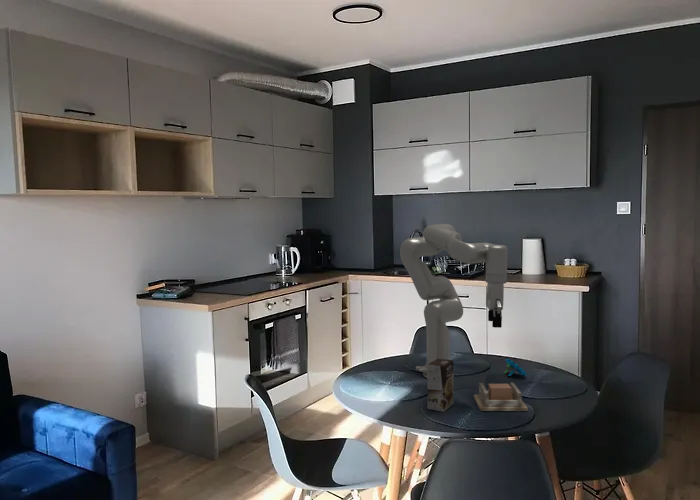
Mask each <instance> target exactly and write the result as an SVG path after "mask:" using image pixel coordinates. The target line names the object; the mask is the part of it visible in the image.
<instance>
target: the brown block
mask: <svg viewBox="0 0 700 500" xmlns="http://www.w3.org/2000/svg"><path fill="white" fill-rule="evenodd" d="M487 384H488V385H487V386H488V389H487V390H488V393H489V400H511V387H510V383H487Z"/></svg>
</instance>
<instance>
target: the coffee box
mask: <svg viewBox="0 0 700 500" xmlns="http://www.w3.org/2000/svg"><path fill="white" fill-rule="evenodd" d="M453 373H454V360H452V359H450V360H447V359H436V360H434V361H432V362H431V363H429V364H428V378H427V409H428V410H432V411H433V410H434V411H438V412H442V413H443V412H445V411H447V410H448V409H449V408H450V407H452V406H453V405H454V377H453ZM451 405H452V406H451Z"/></svg>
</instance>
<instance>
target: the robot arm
mask: <svg viewBox="0 0 700 500" xmlns="http://www.w3.org/2000/svg"><path fill="white" fill-rule="evenodd" d="M399 249H400V250H399V252H400V253H399V255H400V259H401V262H402V264H403V266H404V268H405V269H406V271H407V272H408V274H409V276H410V279H411V280H412V281H411V282H412V283H413V286H414V287H415V289H416V292H417V294H418V296H419V297H420V299H421V300H423V301H430V302H429V303H427V304H426V305H425V306H424V309H423V317H424V322H425V328H426V329H425V330H426V331H425V332H426V362H425V364H424V365H415V371H416V372H421V373H422V376H423V377H424V378H426V379H428V364H429V363H431V362H432V361H434V360H436V359H447V360H451V349H450V348H451V344H450V343H451V338H450V337H451V335H450V331H449V328H448V326H447V324H446V323H451V322H456V321H459V320H460V319H462V317H463V315H464V306H463V303H462V302H461V299H460V296H459V295H458V293H457V291H456V289H455V287H454V284H453V283H452V281H451V280H450V279H449V278H448V277H446V276H443V275H439V276H434V275H433V274H432V272H431V270H430V268H429V267H428V265H427V264H426V263H425V262H424V261H423V260H422V259H421V258H423V257H433V256H436V255H437V254H440V253H441V252H442V251H445V252H447V253H448V255H449V256H450V257H451V258H452V259H453V260H455V261H459V262H461V263H464V264H470V265H471V264H481V263H485V283H486V285H487V286H486V297H485V306H486V307H487V311H488V312H487V313H488V314H487V321H488V322H492V323H491V324H492V328H496V329H497V328H502V326H503V325H502V322H503V315H502V310H504V298H505V297H504V296H505V295H504V290H505V289H504V284H507V281H508V280H507V279H508V256H509V255H508V251H509V249H508V246H507V245H505V244H494V243H490V242H473V243H469V242H465V241H463V238H462V235H461V233H460V232H458V231H456V228H455V227H454V226H453V225H451V224H449V223H438V224H436V223H435V224H429V225H427V226H426V227H425V228H424V229H423V232H422V236H414V237H410V238H407V239H405V240H404V241H402V243H401V245H400V248H399ZM420 257H421V258H420ZM454 377H455V374H454V372H453V378H454Z"/></svg>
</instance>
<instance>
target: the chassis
mask: <svg viewBox="0 0 700 500" xmlns="http://www.w3.org/2000/svg"><path fill="white" fill-rule="evenodd" d="M509 386H510V387H511V400H489V393H488V389H487V388H486V387H485V385H484V382H479V383H478V391H479V392H478V394H473V399H474V401H475V404H476V406H477V407H478V409H479V412H481V411H528V412H529V409H528V406H527V405H526V404H525V402H524V401H523V398H522V392H521V390H520V389H519V388H518V387H517V386H516V384H515V383H514V382H510V383H509Z"/></svg>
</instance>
